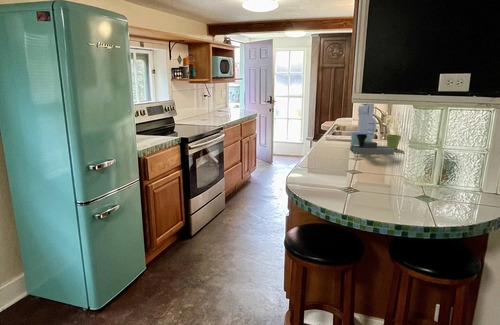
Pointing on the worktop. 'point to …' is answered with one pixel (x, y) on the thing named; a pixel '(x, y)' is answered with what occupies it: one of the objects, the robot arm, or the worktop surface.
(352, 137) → the cover
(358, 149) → the grey frame
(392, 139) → the plant pot
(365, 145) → the block
